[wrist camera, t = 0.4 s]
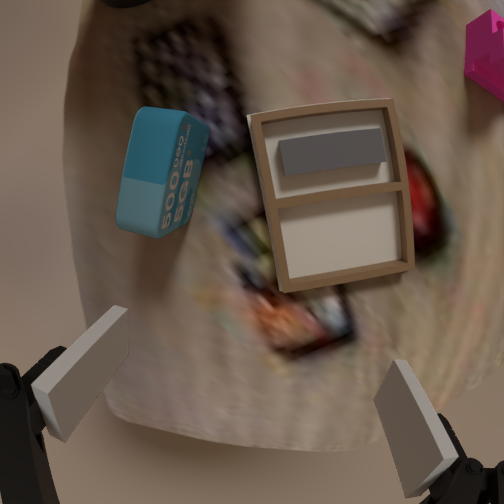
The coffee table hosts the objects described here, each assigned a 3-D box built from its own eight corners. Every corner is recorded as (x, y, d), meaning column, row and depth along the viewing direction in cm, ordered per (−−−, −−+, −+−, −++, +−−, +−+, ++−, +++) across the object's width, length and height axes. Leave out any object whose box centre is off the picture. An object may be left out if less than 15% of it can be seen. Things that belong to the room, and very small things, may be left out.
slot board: (247, 116, 34) (244, 111, 31) (387, 99, 32) (395, 94, 29) (279, 289, 39) (279, 297, 36) (409, 265, 37) (418, 272, 34)
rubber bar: (278, 142, 34) (278, 140, 32) (375, 130, 32) (380, 128, 30) (284, 175, 34) (285, 175, 33) (380, 162, 33) (386, 161, 31)
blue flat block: (190, 221, 38) (155, 243, 26) (158, 213, 38) (112, 231, 26) (212, 127, 34) (183, 108, 23) (177, 122, 35) (137, 103, 23)
